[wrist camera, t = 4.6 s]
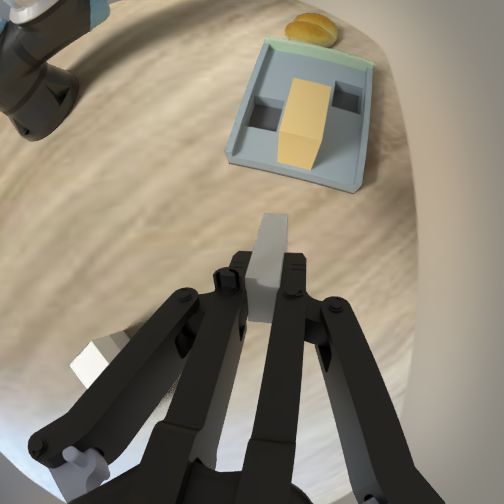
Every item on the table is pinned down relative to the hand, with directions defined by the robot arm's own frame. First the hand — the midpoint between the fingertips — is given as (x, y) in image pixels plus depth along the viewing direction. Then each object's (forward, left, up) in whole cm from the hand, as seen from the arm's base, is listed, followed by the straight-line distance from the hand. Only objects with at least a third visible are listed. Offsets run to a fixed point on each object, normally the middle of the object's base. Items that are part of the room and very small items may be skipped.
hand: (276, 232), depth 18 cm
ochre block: (+10, +9, -13) cm, 19 cm away
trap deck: (+15, +13, -15) cm, 25 cm away
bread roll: (+27, +26, -16) cm, 41 cm away
